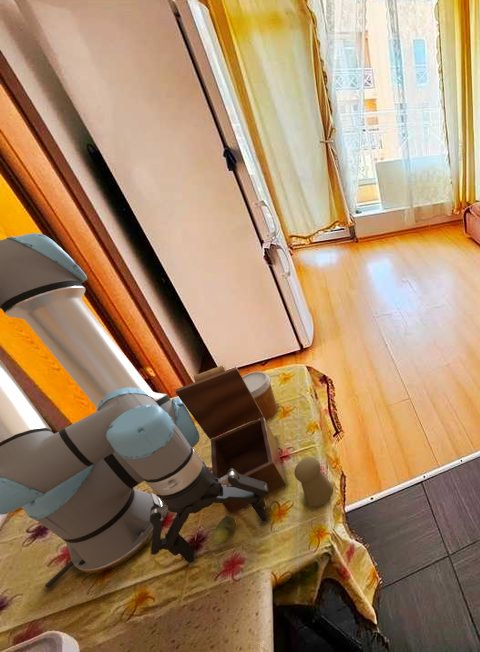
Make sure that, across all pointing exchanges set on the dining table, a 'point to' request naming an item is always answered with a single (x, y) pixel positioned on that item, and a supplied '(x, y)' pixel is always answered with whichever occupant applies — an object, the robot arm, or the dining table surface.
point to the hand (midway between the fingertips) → (229, 535)
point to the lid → (219, 401)
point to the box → (248, 457)
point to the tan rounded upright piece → (313, 481)
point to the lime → (224, 530)
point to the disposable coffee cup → (261, 392)
